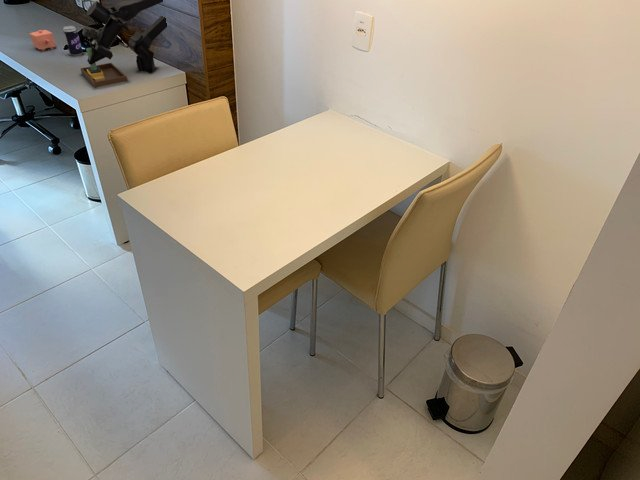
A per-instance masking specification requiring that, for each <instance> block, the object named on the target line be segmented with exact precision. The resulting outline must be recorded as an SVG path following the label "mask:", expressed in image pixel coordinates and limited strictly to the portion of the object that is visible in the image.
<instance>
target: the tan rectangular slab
mask: <svg viewBox="0 0 640 480" xmlns="http://www.w3.org/2000/svg"><path fill="white" fill-rule="evenodd" d="M93 79H94V81H95V82H97V81H102V80H105V77H104V76H98V77H93Z"/></svg>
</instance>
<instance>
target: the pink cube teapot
mask: <svg viewBox="0 0 640 480" xmlns="http://www.w3.org/2000/svg"><path fill="white" fill-rule="evenodd" d="M29 35H30V36H29V37H30V39H31V42H32V44H33V46H34V48H36V49H37V50H41V51H42V52H44V51H46V49H50V50H54V48H55V47H57V43H56V41H55V37H54V34H53V32H52V31H49V30H47V29H39V30H37V31H33V32H29Z"/></svg>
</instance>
